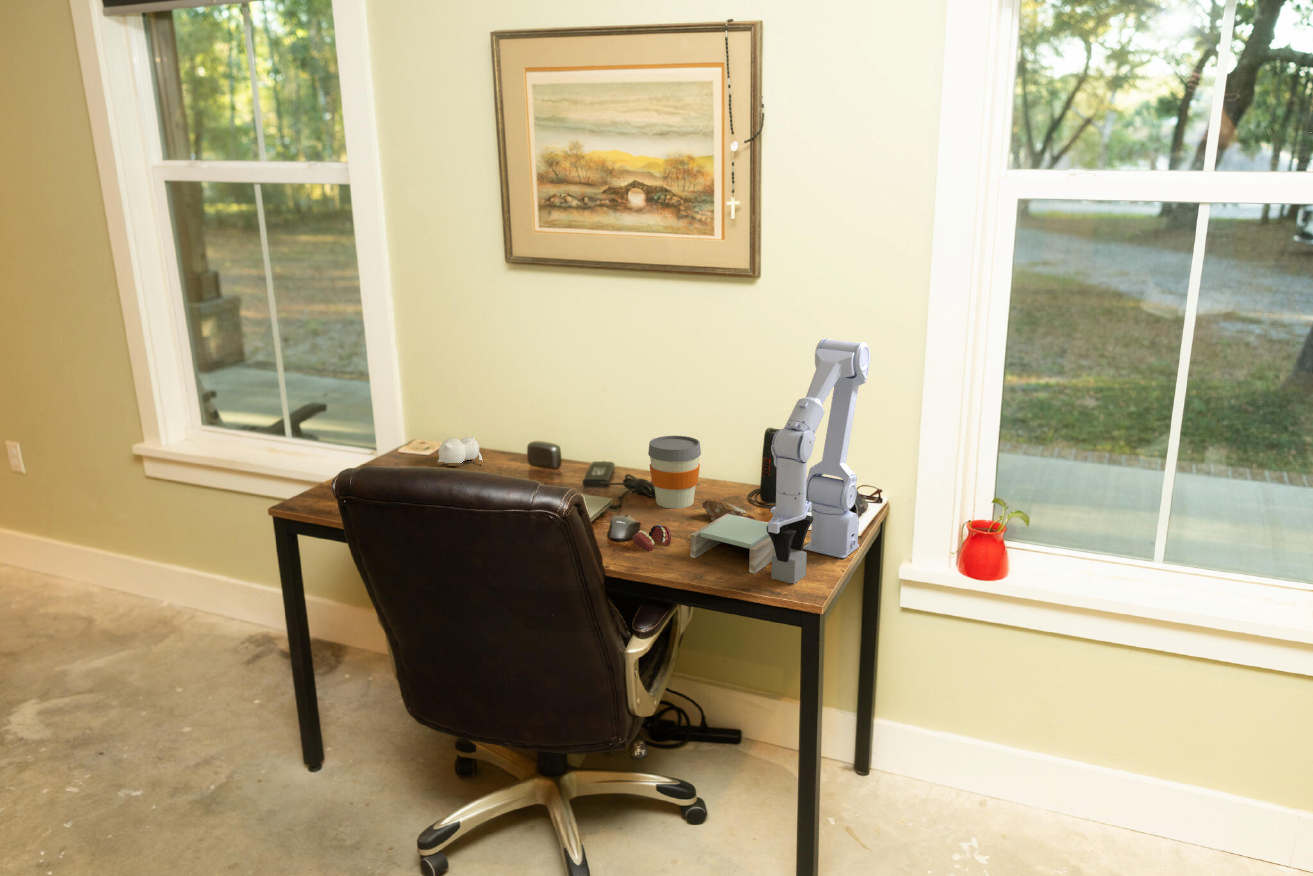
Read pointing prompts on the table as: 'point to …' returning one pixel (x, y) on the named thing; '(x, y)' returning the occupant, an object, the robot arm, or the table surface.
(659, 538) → the dentures model
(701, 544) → the frame
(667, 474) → the reusable coffee cup
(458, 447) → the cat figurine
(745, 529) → the trapdoor
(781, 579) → the granite block
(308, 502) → the table surface
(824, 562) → the table surface
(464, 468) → the table surface
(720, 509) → the decorative stone
